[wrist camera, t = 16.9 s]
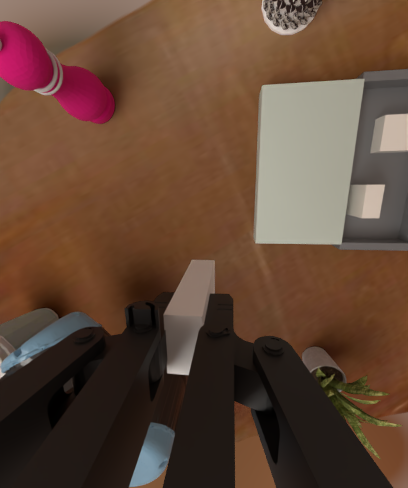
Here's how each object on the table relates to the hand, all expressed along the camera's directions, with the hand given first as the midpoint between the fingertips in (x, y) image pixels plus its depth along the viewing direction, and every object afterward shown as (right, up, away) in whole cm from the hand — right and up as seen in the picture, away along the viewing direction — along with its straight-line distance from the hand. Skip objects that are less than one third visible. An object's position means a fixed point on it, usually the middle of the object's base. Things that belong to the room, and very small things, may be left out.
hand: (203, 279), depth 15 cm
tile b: (+29, +19, +19) cm, 40 cm away
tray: (+29, +15, +23) cm, 40 cm away
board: (+16, +15, +25) cm, 33 cm away
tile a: (+25, +9, +22) cm, 34 cm away
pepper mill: (-19, +27, +26) cm, 42 cm away
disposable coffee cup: (-37, -15, +39) cm, 56 cm away
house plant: (+24, -23, +34) cm, 47 cm away
